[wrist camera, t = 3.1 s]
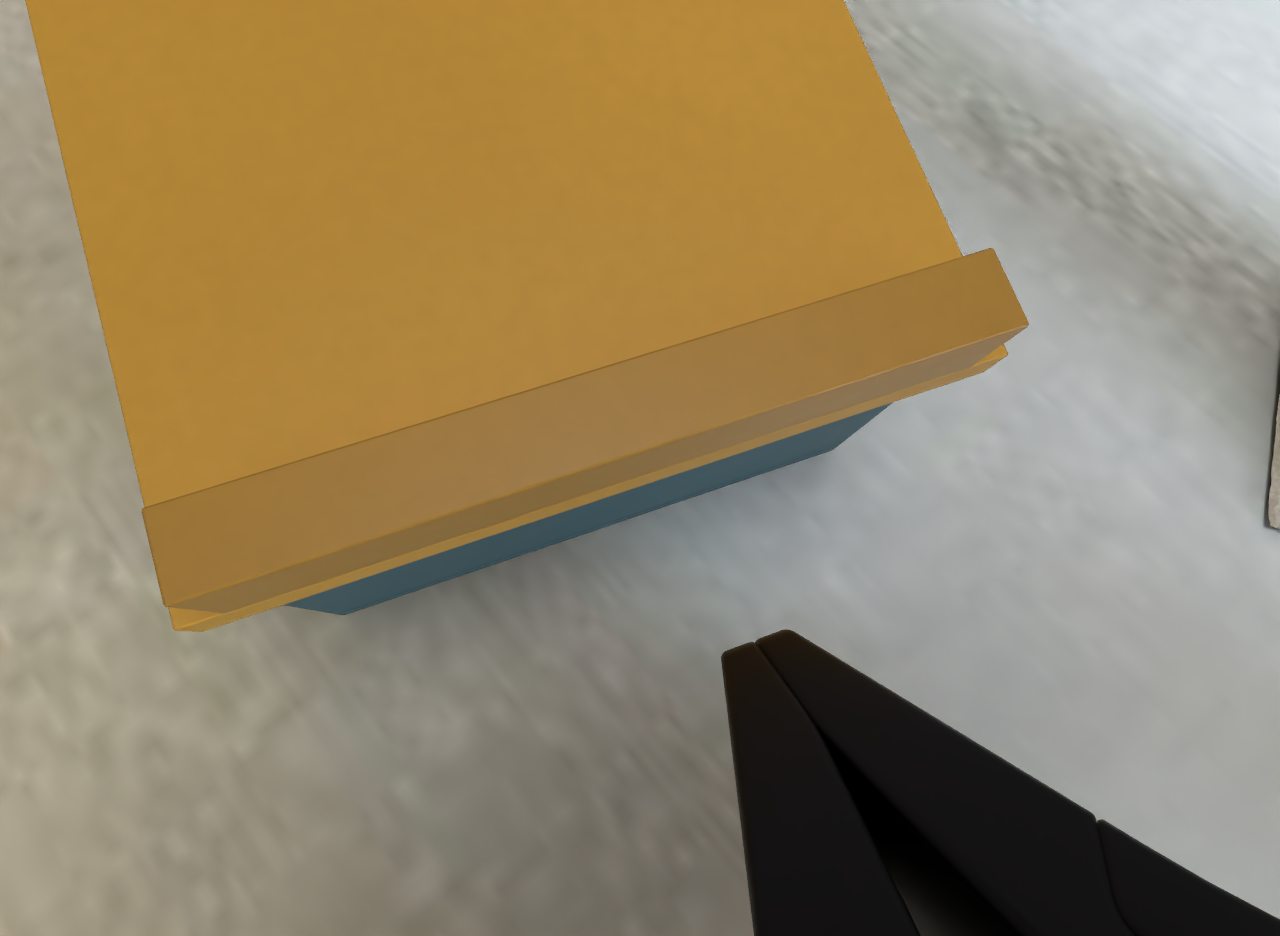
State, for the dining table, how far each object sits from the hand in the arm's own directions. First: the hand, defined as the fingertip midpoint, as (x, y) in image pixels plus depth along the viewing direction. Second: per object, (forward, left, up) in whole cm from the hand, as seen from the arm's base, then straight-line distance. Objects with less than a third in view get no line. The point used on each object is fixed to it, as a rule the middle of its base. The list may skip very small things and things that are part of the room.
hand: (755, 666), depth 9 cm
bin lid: (+7, +7, -6) cm, 12 cm away
